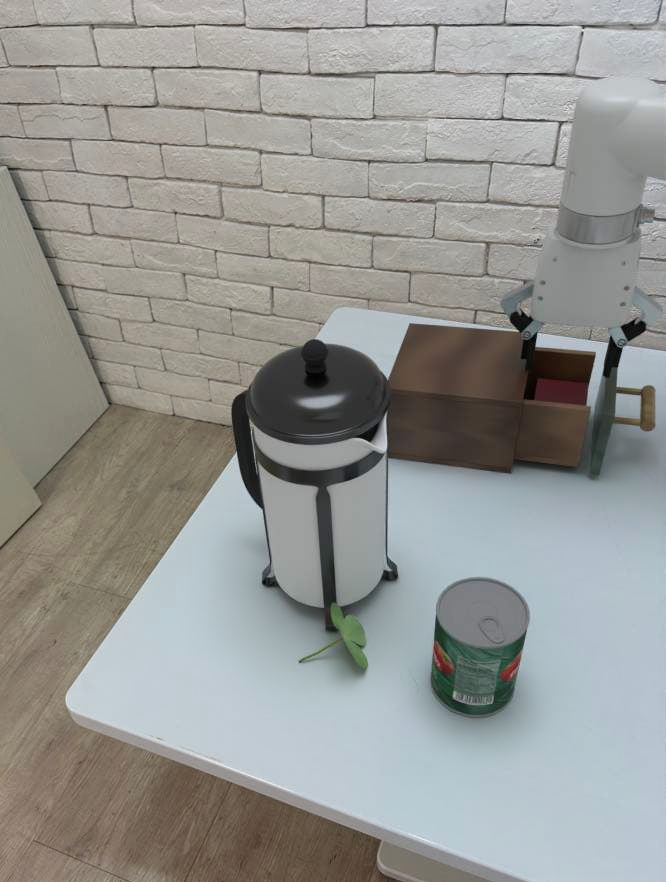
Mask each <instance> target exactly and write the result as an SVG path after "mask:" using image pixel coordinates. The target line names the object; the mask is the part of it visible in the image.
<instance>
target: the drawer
mask: <svg viewBox="0 0 666 882" xmlns="http://www.w3.org/2000/svg"><path fill="white" fill-rule="evenodd" d="M596 356H597V352H596V351H589V350H580V349H579V350H578V349H566V348H557V347H556V348H554V347H544V346H543V347H542V346H536V347H535V353H534V359H533V364H532V369H530V370H528V375H527V381H526V386H525V392H524V397H523V402H522V409H521V415H520V421H519V428H518V434H517V441H516V447H515V453H514V460H516V461H517V460H519V461H524V462H525V461H526V462H535V463H542V464H549V465H550V464H551V465H558V466H567V467H575V468H578V467H579V463H580V458H581V455H582V450H583V445H584V442H585V437H586V434H587V429H588V424H589V420H590V415H591V411H592V406H591V405H586V406H583V405H574V404H564V403H554V402H544V401H535V400H534V396H535V391H536V385H537V379H538V378H541V379H551V380H561V381H572V382H582V383H589V385H588V389H589V387H590V383H591V378H592V375H593V370H594V366H595V360H596ZM618 369H619V367H618V368H615V367H612V369H611V373H610V377H609V378H606V377H605V376H603V372H602V373H601V378H600V382H599V386H598V390H597V395H596V399H595V403H594V408H593V420H592V430H591V443H590V452H589V453H590V455H589V464H588V465H589V467H588V475H592V476H600V475H601V471H602V466H603V463H604V460H605V455H606V452H607V448H608V444H609V440H610V436H611V432H612V428H613V424H615V425H616V424H617V425H624V426H625V425H626V426H635V427H639V428H640V430H641V431H643V432H652V431H653V430H654V429H655V428H656V418H657V417H656V413H657V412H656V410H657V409H656V407H657V406H656V405H657V404H656V403H657V401H656V399H657V397H656V388H655V387H654V386H653V385H650V384H648V385H644V386H643V387H642V388H635V387H634V388H633V387H625V386H618ZM617 394H619V395H629V396H640V399H639V400H640V401H639V402H640V403H639V408H640V409H639V418H632V417H624V416H623V417H622V416H616V405H617V404H616V403H617Z"/></svg>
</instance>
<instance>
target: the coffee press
mask: <svg viewBox="0 0 666 882" xmlns="http://www.w3.org/2000/svg"><path fill="white" fill-rule="evenodd" d="M390 399H391V390H390V385H389V382H388V378H387V376H386V375H385V373H384V372H383V371H382V370H381V369H380V368H379V366H378V364H377V363H376V362H375V361H374V360H373V359H372V358H370V357H369V356H368V355H367V354H365V353H363V352H362V351H360V350H358V349H355V348H353V347H350V346H347V345H342V344H337V343H326V342H324V341H322V340H320V339H317V338H312V339H309V340H307V341H306V342H305V343H304V344H302V345H298V346H295V347H292V348H289V349H286V350H284V351H282V352H280V353H278V354H276V355H274V356H273V357H271V358H270V359H268V360H267V361H266V362H265V363H264V364H262V366H260V367H259V370H258V371H257V372H256V373H255V376H254V378H253V380H252V382H250V384H249V386H248V388H247V389H246V390H245V389H244V391H242V392H240V393H239V394H237V395H236V396H235V397H234V399H233V401H232V402H231V410H230V413H231V414H230V415H231V422H232V423H231V425H232V432H233V438H234V444H235V445H234V446H235V451H236V457H237V462H238V467H239V472H240V473H239V474H240V476H241V480H242V483H243V485H244V487H245V489H246V491H247V493H248V494H249V496H250V498H251V500H252V501H253V502H254V504H256V505H257V507H259V509H261V510H262V516H263V523H264V530H265V537H266V545H267V552H268V558H269V559H268V560H269V563H268V565H266V567H265V568H264V569H263V571H262V572H261V584H262V586H264V587H267V588H272V587H275V585H277V584H278V585H279V587H280V589H282V591H284V593H285V594H287V595H288V596H289V597H290V598H292V599H294V600H295V601H297V602H299V603H301V604H303V605H306V606H310V607H315V608H321V609H322V608H323V612H324V628H325V631H339V630H338V629H337V628H336V627H335V626H334V624H333V621H332V617H331V605H332V603H333V602H335V603H336V604H337V605H338V606H339V607H340V608H341V607H344V606H349V605H352V604H354V603H357V602H359V601H360V600H362V599H363V598H365V597H366V596H368V595H369V594H370V593H372V591H373V590H374V589H375V588H376V587H377V586H378V584H379V583H380V580H381V579H383V580H385V581H388V582H393V581H396V580H398V579H399V570H398V569H399V568H398V565H397V563H395V562H394V561H393V560H392V559H390V557H389V556H388V539H389V538H388V536H389V535H388V530H389V529H388V527H389V525H388V523H389V521H388V519H389V516H388V515H389V458H388V419H387V410H388V408H389V405H390ZM251 423H252V427H251ZM385 560H386V565H387V567H388V568H389V569H390V570H386V569H385ZM272 569H273V574H274V575H273V576H270V577H268V576H269V575H270V573H271V572H272Z"/></svg>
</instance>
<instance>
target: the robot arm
mask: <svg viewBox="0 0 666 882" xmlns="http://www.w3.org/2000/svg"><path fill="white" fill-rule="evenodd" d="M573 111H574V112H573V118H572V124H571V130H570V135H569V142H568V148H567V155H566V161H565V168H564V173H563V174H564V175H563V181H562V187H561V194H560V199H559V205H558V211H557V218H556V221H554V222H553V221H552V223H550V224H549V226H548V228H547V230H546V233H545V235H544V239H543V242H542V245H541V248H540V253H539V257H538V261H537V265H536V270H535V276H534V279H531V280H530V281H528V282H526V283H524V284H522V285H520V286H518V287H516V288H514V289H512V290H510V291H508V292H506V293H505V294H502V296H501V298H500V303H499V305H500V307H501V308H502V310H503V312H504V313H505V315H506V316H507V318H508V319H509V322H510V324H511V325H512V326H513V327H514V328H515V329H516V331H517V332H520V333H521V337H522V338H523V345H522V352H521V359H526V367H525V370H530V369H532V364H533V359H534V353H535V347H537V339H538V334H539V330H540V329H541V328H542V327H543V326H544V325H545V324H550V325H559V326H571V327H586V328H597V329H598V328H599V329H607V331H608V332H609V334H610V335H609V339H608V344H607V347H606V352H605V355H604V356H605V357H604V361H603V369H602V373H603V376H605V377H606V378H609V377H610V373H611V369H612V367H615V368H618V369H619V366H620V362H621V358H622V353H623V349H624V348H625V347H627V346H628V343H629V342H631V341H632V340H634V339H636V338H637V337H639V336H641V335H642V334H644V333H645V332H646V331H647V329H648V328H649V327H651V326H652V325H653V324H655V323H656V322H657V321H658V320H659V319H661V318H662V317H663V314H664V312H663V311H664V308H663V305H662V304H661V303H659V302H658V301H656V300H655V299H654V298H653V297H651V296H650V295H649V294H647V293H646V292H645V291H644V290H642V289H641V288H639V287H638V286H637V285H636V283H637V279H638V272H639V265H640V258H641V250H642V228H640V225H645V224H653V222H654V218H655V213H656V208H648V206H644V203H642V202H643V201H642V200H643V196H644V192H645V188H646V183H647V179H648V178H651V179H656V180H660V181H663V182H666V96H665V94H664V91H663V89H662V86H660V85H659V84H658V83H657V82H655V80H652V79H649V78H646V77H641V76H634V75H614V76H608V77H604V78H603V77H602V78H599V79H596V80H594V81H592V82H590V83H588V84H587V85H586V86H585V87H584V88H583V89H582V90H581V91H580V93H579V94H578V97H577V98H576V101H575V106H574V110H573ZM530 298H531V299H530ZM528 299H530V308H529V309H530V310H529V311H530V314H529V315H528V314H526V313H525V312H524V311H523V309H522V308H520V307H519V305H518V304H521V303H522V302H524V301H526V300H528ZM632 305H633V306H634V307H636V308H637V309H638V310H639V311H641V312H642V313H641V315H640V316H637V317H635V318H633V319H632V320H630V321H628V319H629V317H630V316H629V315H630V313H631V308H632ZM627 321H628V322H627Z"/></svg>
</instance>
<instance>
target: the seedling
mask: <svg viewBox="0 0 666 882" xmlns="http://www.w3.org/2000/svg"><path fill="white" fill-rule="evenodd" d="M331 617H332V621H333V624H334V626H335V627H336V628H337V629H338V630H337V631H338V632H339V633H340V634H341V637H340V638H339V639H337V640H335V641H333V642H331V643H330V644H328V645H326V646H325V647H323V648H322V649H319V650H318V651H316V652H314V653H312V654H310V655H308V656H305V657H303V658H300V659H299V660H298V663H302V662H304V661H306V660H308V659H310V658H312V657H315V656H316V655H319V654H321V653H322V652H324V651H326V650H327V649H329V648H330V647H332V646H334V645H336V644H338V643H340V642H342V641H344V643H345V645H346V647H347V649H348V651H349V653H350V654H351V656H352V658H353V659H354V661H355V663H356V664H357V665H358V666H359V667H360V668H363V669H367V667H368V666H369V662H368V658H367V656H366V654H365V652H364V651H363V650H362V648H360V647H359V646H358V645H360V646H363V647H365V646H366V645H367V639H366V632H365V629H364V627H363V625H362V623H361V621H360V620H359V619H358V618H357V617H356V616H355V615H353V614H348V615H346V616H345V617H344V615H343V611H342V609H341V607H339V606H338V605H337V604H336V603H335V602H333V603H332V605H331Z"/></svg>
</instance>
